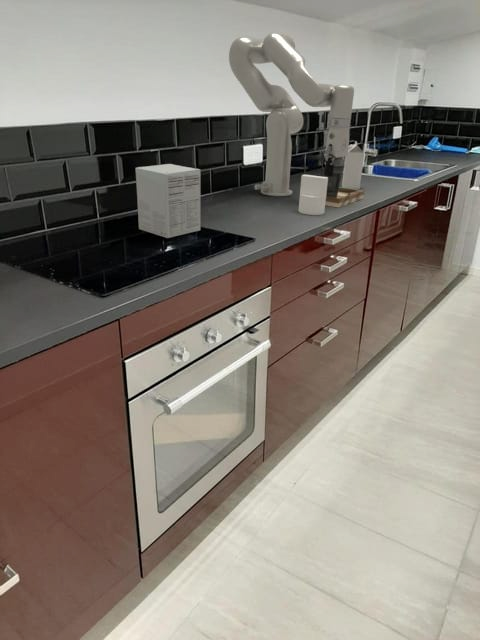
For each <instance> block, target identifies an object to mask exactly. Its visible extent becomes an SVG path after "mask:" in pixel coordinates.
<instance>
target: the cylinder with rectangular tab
mask: <svg viewBox="0 0 480 640" xmlns="http://www.w3.org/2000/svg"><path fill="white" fill-rule="evenodd" d="M327 183H328V177H325V176H321V175H319V176H318V175H313V174H302V175H301V178H300V188H299V189H300V191H299V201H298V203H299V204H298V213H300V214H303V215H308V216H309V215H310V216H319V215H324V214H325V210H326V205H325V202H326V193H327Z"/></svg>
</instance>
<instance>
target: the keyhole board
mask: <svg viewBox="0 0 480 640" xmlns="http://www.w3.org/2000/svg"><path fill="white" fill-rule="evenodd" d="M364 195H365V190H362V189H361V190H360V189H351V188H345V187H342V186H339V191H338V195H337V198H333V197H327V196H326V202H325V206H328V207H334V208H342V207H344V206H347V205H350V204H352V203H355V202H359V201H361V200H363V199H364Z"/></svg>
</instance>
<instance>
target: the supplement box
mask: <svg viewBox="0 0 480 640" xmlns="http://www.w3.org/2000/svg"><path fill="white" fill-rule="evenodd" d="M135 179H136V180H135V183H136V196H137V197H136V198H137V214H138V216H137V217H138V220H137V221H138V230H141V231H144V232H147V233H151V234H154V235H156V236H160V237H164V238H165V239H169V238H174V237H177V236H181V235H186V234H190V233H194V232H199V231H201V169H199V168H193V167H189V166H188V167H187V166H183V165H177V164H173V163H165V164H157V165H149V166H138V167H135Z"/></svg>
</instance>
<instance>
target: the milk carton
mask: <svg viewBox="0 0 480 640" xmlns="http://www.w3.org/2000/svg"><path fill="white" fill-rule="evenodd" d="M364 159H365V152H364V151H363V150H362V149H361V148H360V147H359V146H358V142H357V141H354V144H350V145H349V148H348V155H347V156H346V157H345V159H344V166H345V167H344V170H343V173H342V178H341V180H342V181H341V187H345V188H351V189H358V190H360V188H361V180H362V174H363V166H364V161H365V160H364Z"/></svg>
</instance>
